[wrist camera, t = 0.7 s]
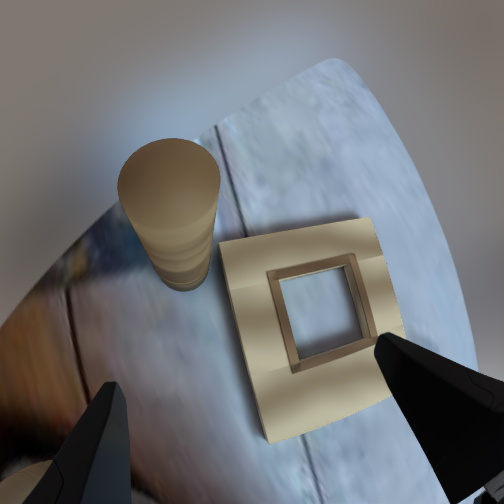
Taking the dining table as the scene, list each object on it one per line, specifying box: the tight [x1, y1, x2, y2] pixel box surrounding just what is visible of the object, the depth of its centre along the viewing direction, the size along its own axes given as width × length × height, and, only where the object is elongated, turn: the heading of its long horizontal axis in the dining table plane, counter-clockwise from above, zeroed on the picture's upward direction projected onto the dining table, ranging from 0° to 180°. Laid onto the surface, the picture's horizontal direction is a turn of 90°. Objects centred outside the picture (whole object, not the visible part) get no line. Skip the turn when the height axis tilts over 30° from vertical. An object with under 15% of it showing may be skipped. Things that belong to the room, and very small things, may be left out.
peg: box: [117, 138, 220, 292], centre depth 17 cm, size 4×4×13 cm
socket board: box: [218, 217, 406, 444], centre depth 23 cm, size 16×14×1 cm
